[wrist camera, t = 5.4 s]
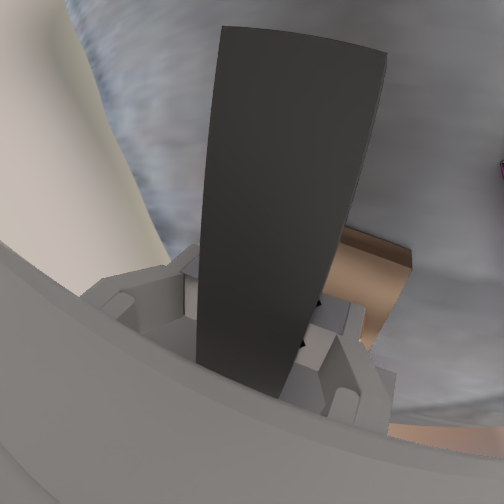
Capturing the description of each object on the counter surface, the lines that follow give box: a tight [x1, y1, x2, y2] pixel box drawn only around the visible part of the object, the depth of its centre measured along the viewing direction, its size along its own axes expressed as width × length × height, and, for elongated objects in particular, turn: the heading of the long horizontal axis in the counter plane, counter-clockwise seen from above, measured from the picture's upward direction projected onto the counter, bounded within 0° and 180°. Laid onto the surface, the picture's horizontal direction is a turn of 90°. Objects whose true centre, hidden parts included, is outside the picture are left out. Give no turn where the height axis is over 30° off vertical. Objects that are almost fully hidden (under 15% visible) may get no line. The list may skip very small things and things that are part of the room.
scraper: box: [141, 26, 396, 435], centre depth 9 cm, size 12×12×5 cm
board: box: [322, 226, 412, 352], centre depth 29 cm, size 12×15×3 cm
